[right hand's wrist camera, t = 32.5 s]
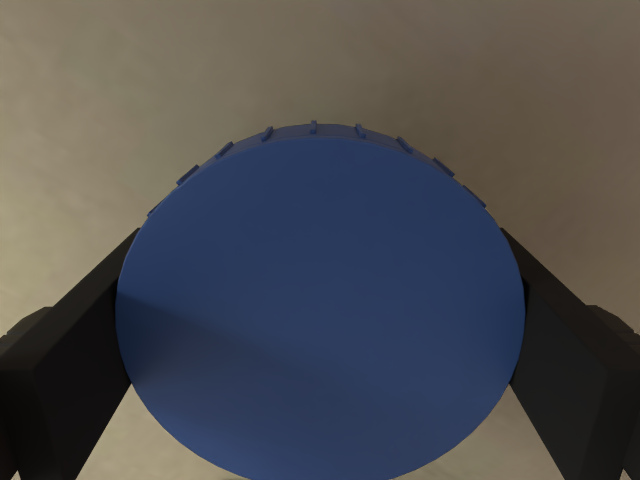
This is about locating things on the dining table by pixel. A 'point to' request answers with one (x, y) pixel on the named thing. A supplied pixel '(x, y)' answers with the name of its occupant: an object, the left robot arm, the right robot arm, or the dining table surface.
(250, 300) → the lid
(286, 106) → the dining table surface
